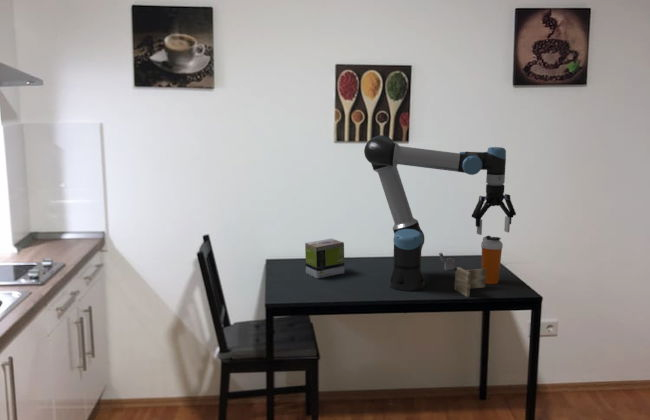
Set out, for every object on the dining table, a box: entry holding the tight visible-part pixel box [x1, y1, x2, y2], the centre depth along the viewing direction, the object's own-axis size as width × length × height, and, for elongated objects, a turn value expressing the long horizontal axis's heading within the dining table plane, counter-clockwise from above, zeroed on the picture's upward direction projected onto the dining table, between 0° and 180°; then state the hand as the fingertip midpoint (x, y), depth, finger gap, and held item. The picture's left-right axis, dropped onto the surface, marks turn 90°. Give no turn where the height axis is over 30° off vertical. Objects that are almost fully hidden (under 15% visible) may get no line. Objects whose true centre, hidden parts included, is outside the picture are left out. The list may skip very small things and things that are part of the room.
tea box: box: [304, 238, 345, 279], centre depth 290 cm, size 15×10×15 cm, turn 123°
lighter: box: [438, 252, 455, 271], centre depth 299 cm, size 7×2×8 cm, turn 94°
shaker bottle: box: [480, 235, 504, 285], centre depth 279 cm, size 9×9×20 cm
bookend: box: [454, 266, 486, 298], centre depth 266 cm, size 14×10×10 cm
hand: (493, 233), depth 276 cm, fingers open, 13 cm apart
